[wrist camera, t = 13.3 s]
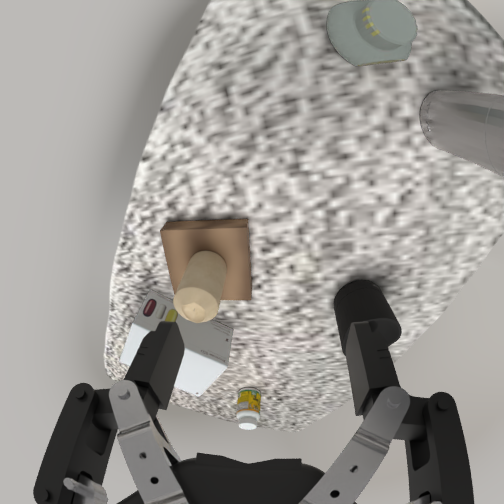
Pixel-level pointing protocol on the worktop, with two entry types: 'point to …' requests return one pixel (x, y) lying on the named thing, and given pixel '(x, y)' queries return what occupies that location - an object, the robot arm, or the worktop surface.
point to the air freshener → (371, 31)
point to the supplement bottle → (248, 408)
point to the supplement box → (195, 341)
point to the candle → (201, 287)
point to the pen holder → (365, 311)
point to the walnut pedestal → (211, 239)
